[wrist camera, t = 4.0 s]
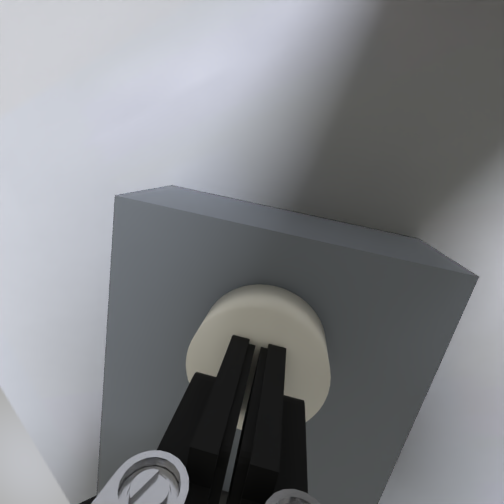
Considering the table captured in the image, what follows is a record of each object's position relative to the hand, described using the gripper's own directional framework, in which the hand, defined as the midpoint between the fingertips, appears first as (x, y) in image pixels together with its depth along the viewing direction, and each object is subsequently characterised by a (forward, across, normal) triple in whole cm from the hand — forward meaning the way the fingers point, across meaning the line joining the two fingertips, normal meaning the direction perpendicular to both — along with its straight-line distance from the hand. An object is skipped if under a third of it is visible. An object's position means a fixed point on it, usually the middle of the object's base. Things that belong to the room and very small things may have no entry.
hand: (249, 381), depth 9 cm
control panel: (+7, 0, +9) cm, 11 cm away
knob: (+6, 0, 0) cm, 6 cm away
